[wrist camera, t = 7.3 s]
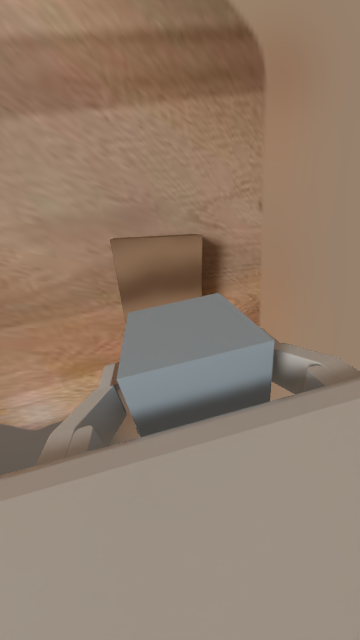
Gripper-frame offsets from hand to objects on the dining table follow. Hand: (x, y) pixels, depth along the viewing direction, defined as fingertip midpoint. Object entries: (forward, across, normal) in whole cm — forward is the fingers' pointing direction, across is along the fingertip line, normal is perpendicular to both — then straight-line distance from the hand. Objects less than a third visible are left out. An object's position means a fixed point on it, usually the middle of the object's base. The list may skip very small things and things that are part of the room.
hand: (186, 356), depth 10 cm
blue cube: (+2, 0, 0) cm, 2 cm away
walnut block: (+19, 0, 0) cm, 19 cm away
